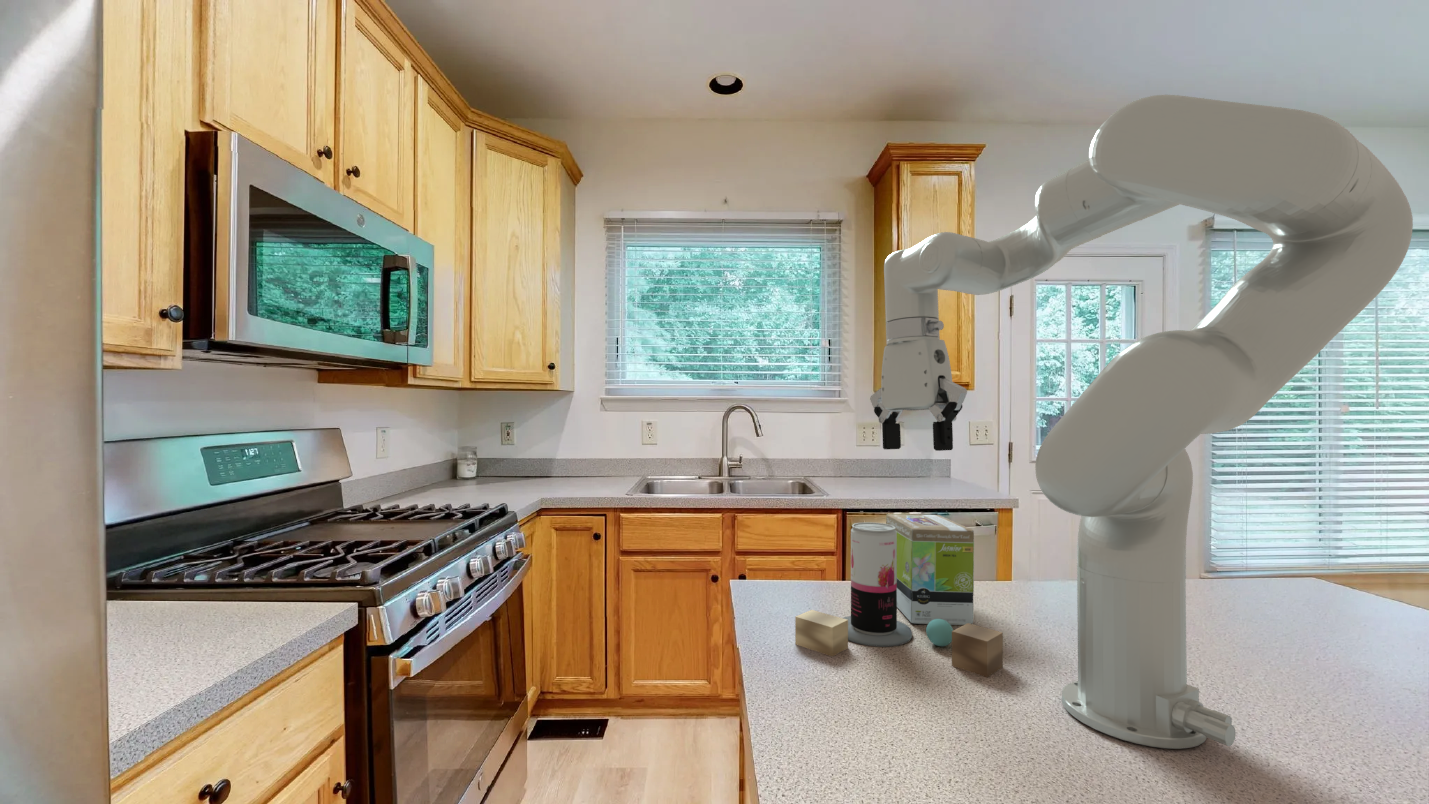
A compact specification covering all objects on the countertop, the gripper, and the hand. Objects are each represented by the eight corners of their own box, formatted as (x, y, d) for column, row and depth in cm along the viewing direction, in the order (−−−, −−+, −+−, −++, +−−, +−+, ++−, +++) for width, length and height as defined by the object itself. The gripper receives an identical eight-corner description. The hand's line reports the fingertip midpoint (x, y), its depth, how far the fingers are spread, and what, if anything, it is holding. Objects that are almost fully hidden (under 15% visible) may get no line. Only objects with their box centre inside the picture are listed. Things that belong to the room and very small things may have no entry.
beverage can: (899, 637, 83) (899, 531, 83) (852, 634, 84) (852, 529, 84) (893, 621, 89) (893, 523, 90) (849, 618, 90) (849, 521, 91)
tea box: (976, 626, 89) (976, 529, 90) (910, 625, 90) (910, 528, 90) (940, 595, 104) (940, 512, 105) (883, 595, 105) (883, 512, 105)
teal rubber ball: (959, 647, 81) (959, 621, 81) (940, 652, 79) (940, 625, 80) (939, 638, 84) (939, 613, 84) (920, 643, 83) (920, 617, 83)
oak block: (848, 648, 81) (847, 619, 81) (832, 657, 78) (832, 627, 78) (811, 637, 85) (811, 609, 85) (795, 645, 82) (795, 616, 82)
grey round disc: (928, 638, 84) (928, 634, 84) (869, 652, 79) (869, 647, 79) (875, 614, 94) (875, 611, 94) (820, 625, 89) (820, 621, 89)
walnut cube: (1002, 668, 75) (1002, 632, 75) (987, 678, 72) (987, 641, 72) (968, 656, 78) (968, 623, 78) (951, 666, 75) (951, 631, 75)
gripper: (979, 326, 81) (984, 450, 80) (888, 344, 97) (891, 448, 96) (942, 322, 78) (947, 451, 77) (853, 341, 93) (856, 449, 92)
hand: (916, 449), depth 86 cm, fingers open, 9 cm apart
